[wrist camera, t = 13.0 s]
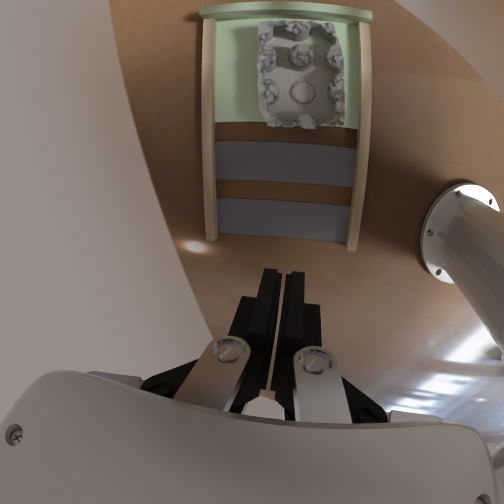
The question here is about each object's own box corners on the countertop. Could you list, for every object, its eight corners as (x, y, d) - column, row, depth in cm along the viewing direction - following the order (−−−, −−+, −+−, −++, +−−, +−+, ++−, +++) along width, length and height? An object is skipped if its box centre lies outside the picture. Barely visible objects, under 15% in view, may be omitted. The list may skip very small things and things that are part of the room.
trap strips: (355, 148, 24) (356, 148, 24) (345, 241, 29) (345, 242, 28) (215, 141, 26) (215, 141, 26) (218, 232, 31) (217, 233, 30)
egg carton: (339, 131, 24) (347, 132, 20) (262, 127, 25) (256, 127, 21) (337, 32, 19) (344, 18, 15) (260, 29, 20) (254, 15, 16)
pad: (356, 26, 18) (356, 25, 18) (357, 129, 23) (357, 129, 23) (216, 22, 20) (216, 21, 20) (215, 122, 25) (214, 122, 25)
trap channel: (365, 19, 18) (371, 11, 15) (353, 247, 29) (358, 257, 26) (207, 15, 20) (199, 7, 17) (209, 236, 31) (202, 245, 28)
